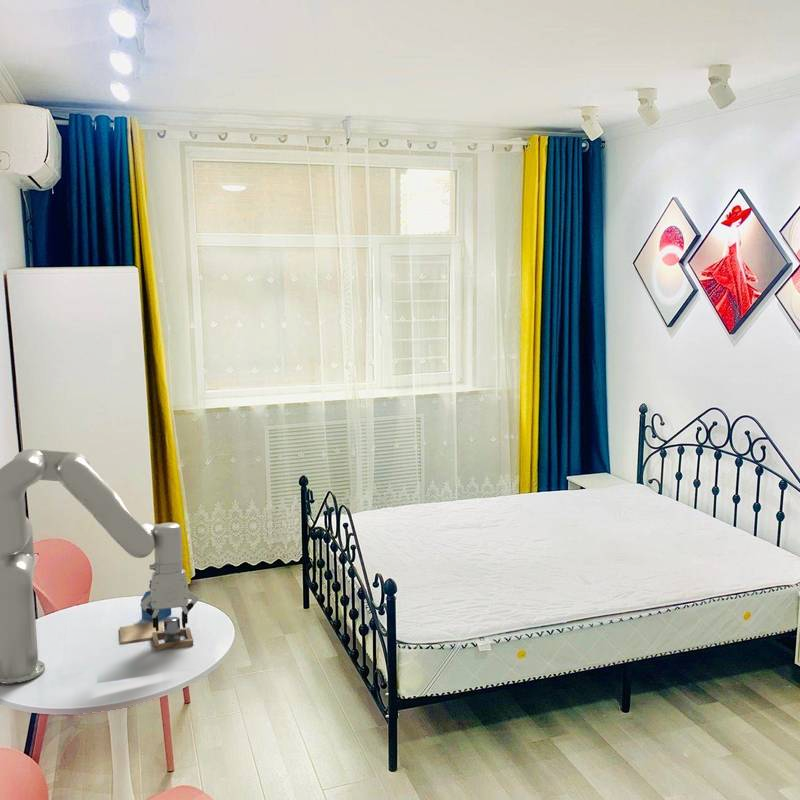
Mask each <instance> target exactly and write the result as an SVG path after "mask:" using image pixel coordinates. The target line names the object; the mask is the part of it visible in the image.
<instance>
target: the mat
mask: <svg viewBox="0 0 800 800" xmlns="http://www.w3.org/2000/svg"><path fill="white" fill-rule="evenodd" d="M158 624H159V631H156V628H153V622H148V623H147V622H146V623H140V624H133V625H132V624H131V625H127V626H125V625H124V626H119V639H120V645H125V644H129V643H135V642H136V643H137V642H143V641H149V640H153V635H152V633H154V632H161V631H164V626H163V623H162V620H160V621H158ZM163 638H164V639H165V637H164V636H158V639H163Z"/></svg>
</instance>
